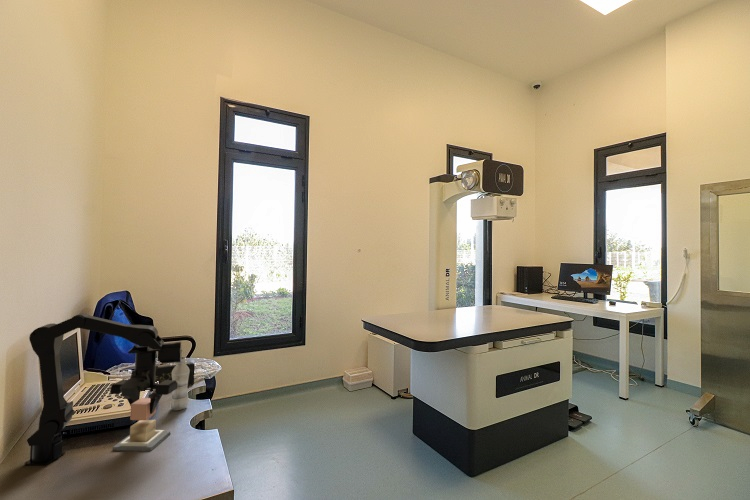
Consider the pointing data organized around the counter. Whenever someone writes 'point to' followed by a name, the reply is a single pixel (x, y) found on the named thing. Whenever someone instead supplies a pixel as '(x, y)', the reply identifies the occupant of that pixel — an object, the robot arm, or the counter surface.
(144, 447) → the baseplate
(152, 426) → the maple block
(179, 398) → the plastic bottle
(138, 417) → the terracotta block
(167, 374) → the nameplate
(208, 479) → the counter surface
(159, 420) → the counter surface
